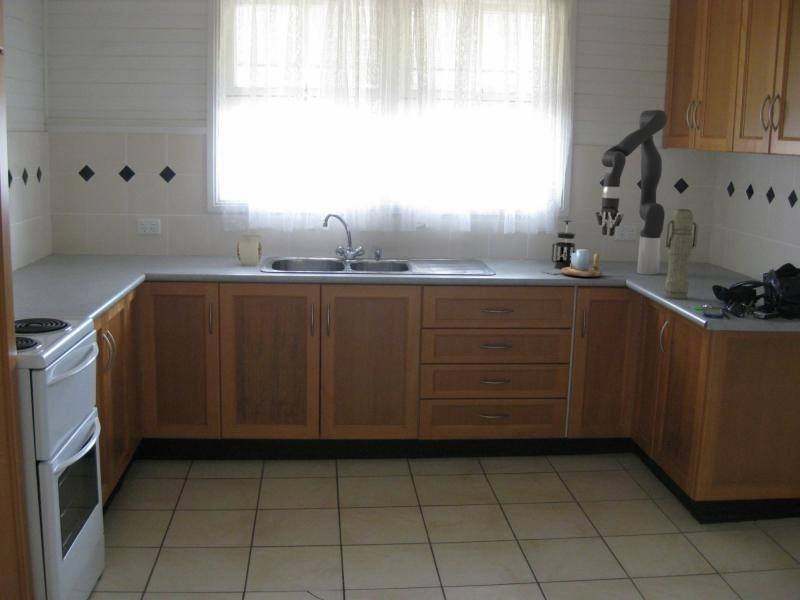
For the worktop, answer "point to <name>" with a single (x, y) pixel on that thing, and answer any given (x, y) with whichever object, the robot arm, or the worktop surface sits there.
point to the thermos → (679, 253)
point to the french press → (561, 262)
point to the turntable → (589, 272)
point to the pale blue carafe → (580, 259)
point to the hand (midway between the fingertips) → (607, 235)
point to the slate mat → (553, 272)
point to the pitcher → (249, 249)
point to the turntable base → (582, 276)
